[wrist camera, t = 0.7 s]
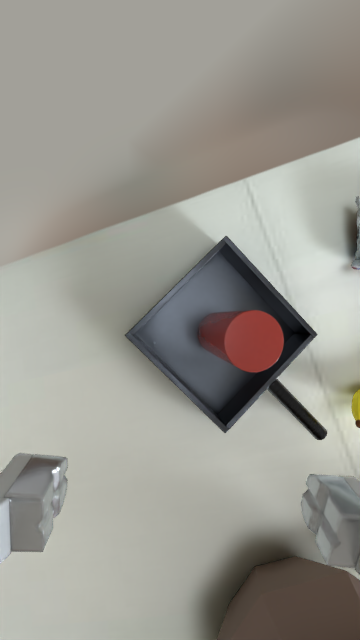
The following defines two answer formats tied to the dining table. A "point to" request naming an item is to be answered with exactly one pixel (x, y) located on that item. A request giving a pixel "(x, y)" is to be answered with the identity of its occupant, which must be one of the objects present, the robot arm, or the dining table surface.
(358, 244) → the packaged food
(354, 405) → the banana
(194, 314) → the steel pan
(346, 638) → the brown soup pot
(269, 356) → the red cylinder
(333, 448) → the dining table surface
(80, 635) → the dining table surface
